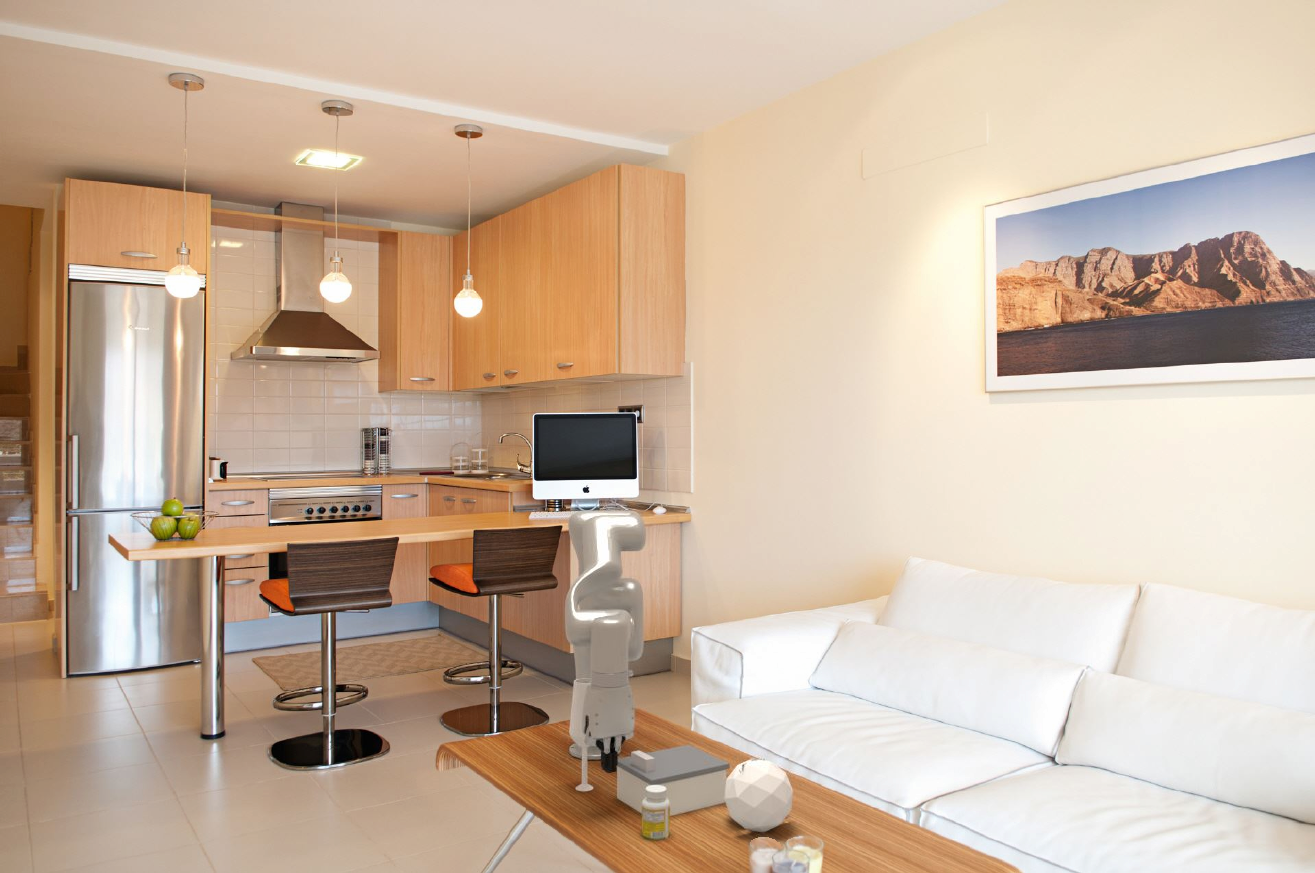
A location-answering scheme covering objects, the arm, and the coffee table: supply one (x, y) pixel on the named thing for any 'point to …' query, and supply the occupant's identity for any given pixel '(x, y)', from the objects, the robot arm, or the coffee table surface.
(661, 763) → the lid
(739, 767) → the geodesic sphere
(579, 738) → the champagne flute
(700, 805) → the storage box
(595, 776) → the coffee table surface
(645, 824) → the supplement bottle
